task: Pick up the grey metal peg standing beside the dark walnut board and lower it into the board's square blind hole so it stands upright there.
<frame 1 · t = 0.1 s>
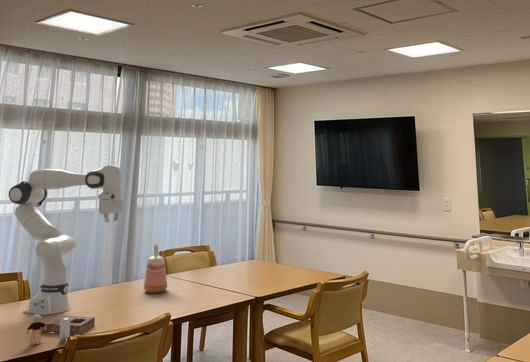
hand: (111, 221, 220), 48 cm above the table, tool pointing down, fingers open, 8 cm apart
peg board: (67, 328, 195), on the table
peg: (64, 342, 179), on the table
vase: (155, 291, 264), on the table
grandmother figurine: (36, 344, 176), on the table
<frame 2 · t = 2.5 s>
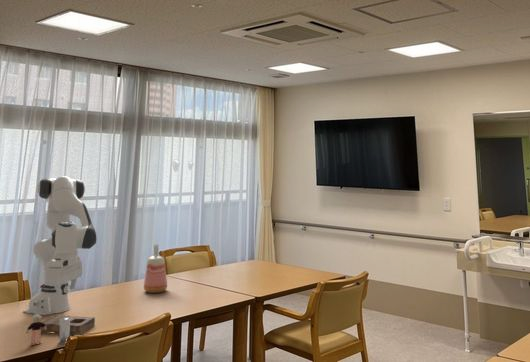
hand: (66, 291, 179), 21 cm above the table, tool pointing down, fingers open, 8 cm apart
nothing on the table moved.
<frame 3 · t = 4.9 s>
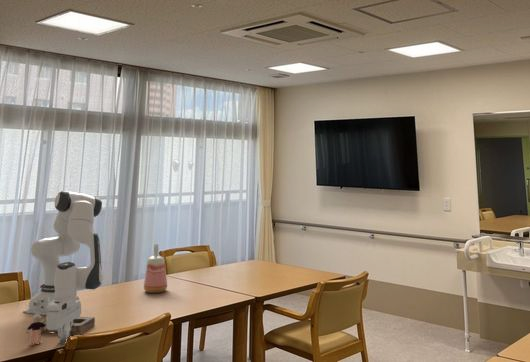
hand: (64, 333, 179), 4 cm above the table, tool pointing down, fingers closed on peg, 4 cm apart
peg: (64, 342, 179), on the table, touching gripper
everything else where it was.
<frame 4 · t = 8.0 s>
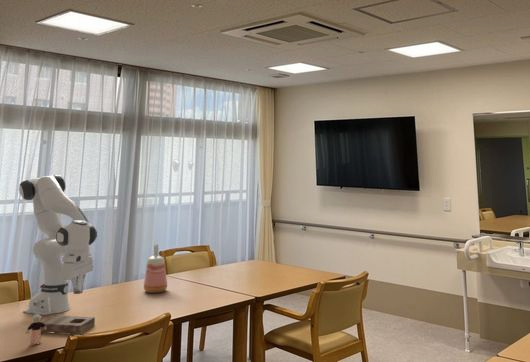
hand: (78, 285, 195), 21 cm above the table, tool pointing down, fingers closed on peg, 4 cm apart
peg: (78, 292, 195), point 17 cm above the table, touching gripper
everything else where it was.
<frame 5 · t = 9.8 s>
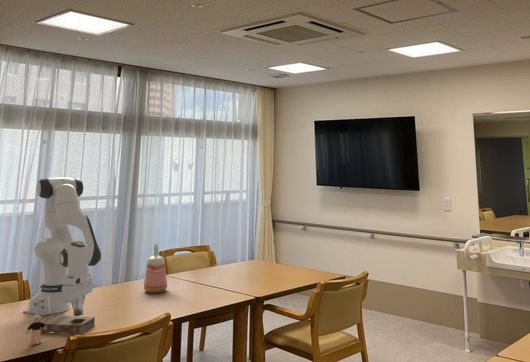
hand: (78, 306, 194), 11 cm above the table, tool pointing down, fingers closed on peg, 4 cm apart
peg: (78, 314, 194), point 7 cm above the table, touching gripper
everything else where it was.
when the fingers open (6 cm above the table, at t = 11.1 s): peg stays where it is, resting on peg board.
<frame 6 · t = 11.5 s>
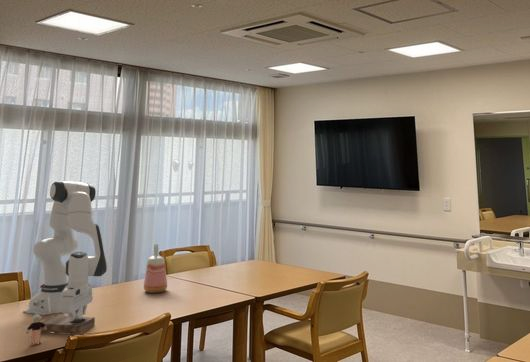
hand: (77, 317, 194), 6 cm above the table, tool pointing down, fingers open, 8 cm apart
peg: (77, 327, 195), point 1 cm above the table, touching peg board
everything else where it was.
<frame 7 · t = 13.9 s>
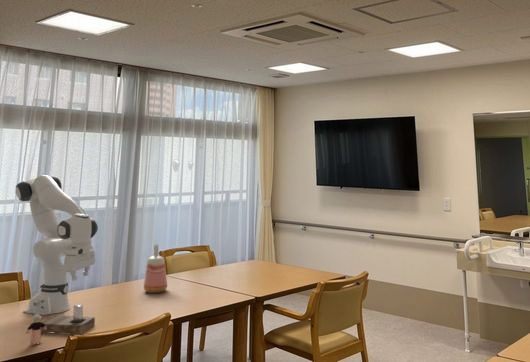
hand: (80, 277, 196), 24 cm above the table, tool pointing down, fingers open, 8 cm apart
nothing on the table moved.
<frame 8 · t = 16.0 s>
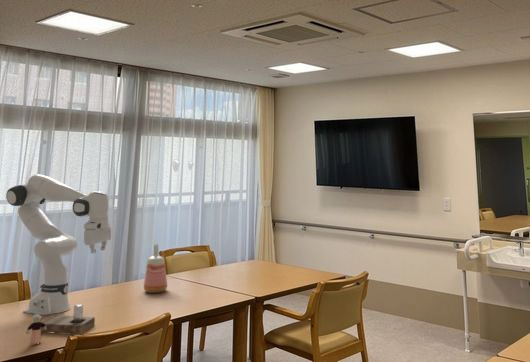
hand: (98, 251, 208), 34 cm above the table, tool pointing down, fingers open, 8 cm apart
nothing on the table moved.
at the end: peg 0.1 cm from the target spot on the peg board, point 1.0 cm above the peg board's base; peg tilted 1°; the gripper is holding nothing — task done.
